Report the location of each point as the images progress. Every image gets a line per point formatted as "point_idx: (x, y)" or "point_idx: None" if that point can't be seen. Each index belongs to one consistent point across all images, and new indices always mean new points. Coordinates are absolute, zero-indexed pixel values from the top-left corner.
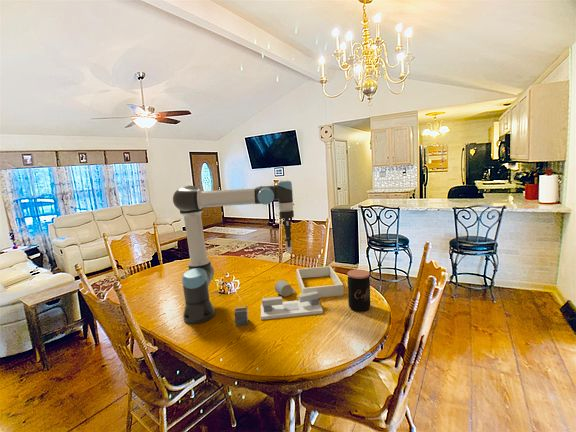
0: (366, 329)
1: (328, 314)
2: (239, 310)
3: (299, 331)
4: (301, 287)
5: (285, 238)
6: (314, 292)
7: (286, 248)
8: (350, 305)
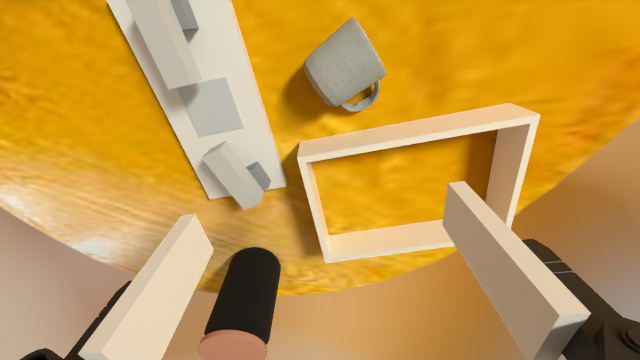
0: None
1: (210, 206)
2: None
3: (97, 141)
4: (352, 140)
5: (509, 254)
6: (248, 199)
7: (169, 247)
8: (238, 256)
